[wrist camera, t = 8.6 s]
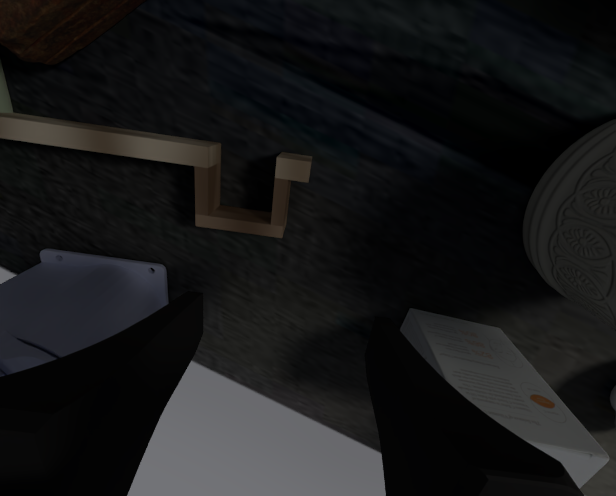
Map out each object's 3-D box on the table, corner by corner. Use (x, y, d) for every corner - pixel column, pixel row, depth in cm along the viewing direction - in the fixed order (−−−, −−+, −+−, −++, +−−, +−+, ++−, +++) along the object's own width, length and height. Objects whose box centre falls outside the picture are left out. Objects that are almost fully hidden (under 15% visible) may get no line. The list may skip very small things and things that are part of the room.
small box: (384, 356, 27) (421, 493, 17) (409, 304, 24) (466, 429, 15) (470, 375, 27) (552, 519, 17) (501, 326, 25) (616, 461, 15)
